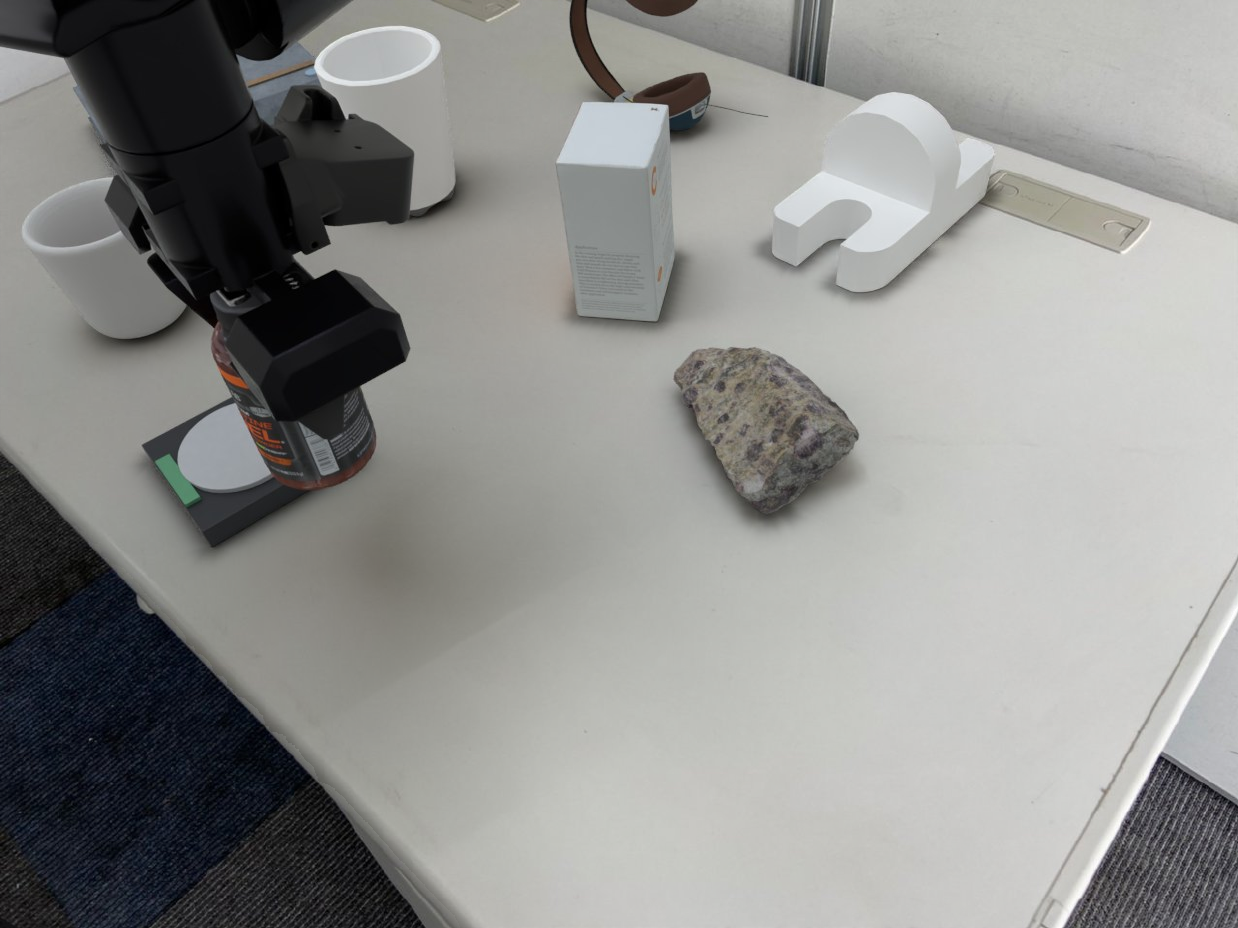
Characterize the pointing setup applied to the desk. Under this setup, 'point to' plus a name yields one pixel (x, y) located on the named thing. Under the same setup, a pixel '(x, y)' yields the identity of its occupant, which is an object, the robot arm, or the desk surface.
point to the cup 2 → (397, 99)
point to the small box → (618, 208)
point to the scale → (218, 472)
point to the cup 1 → (98, 263)
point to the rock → (764, 422)
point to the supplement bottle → (295, 423)
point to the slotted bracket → (883, 191)
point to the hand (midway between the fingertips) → (304, 400)
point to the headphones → (679, 93)
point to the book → (263, 81)
